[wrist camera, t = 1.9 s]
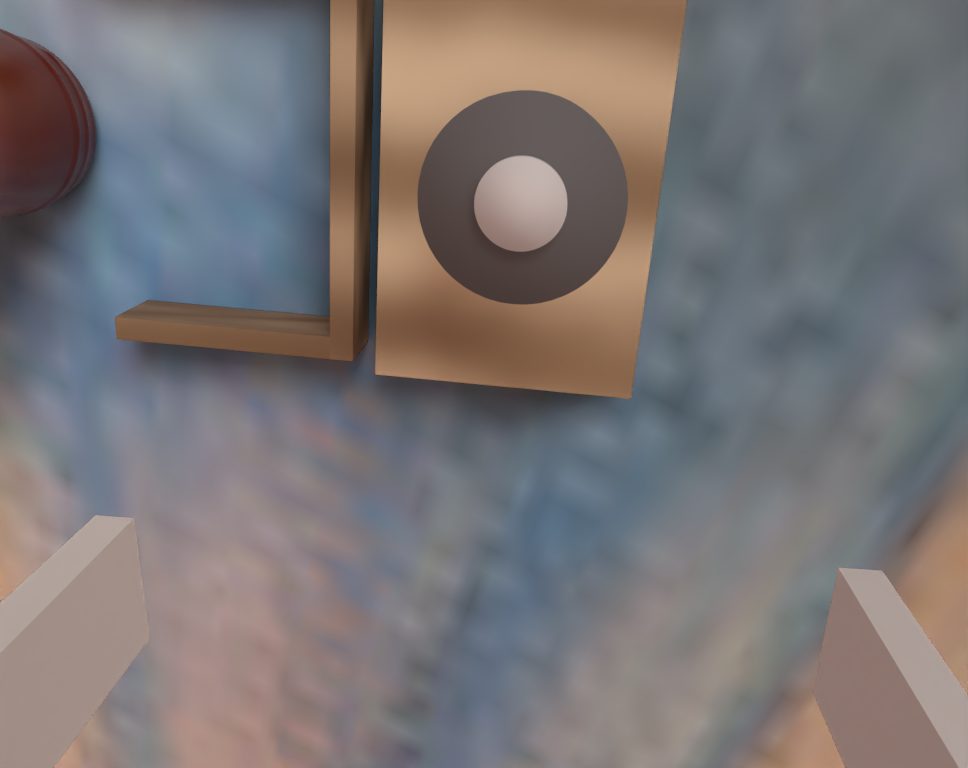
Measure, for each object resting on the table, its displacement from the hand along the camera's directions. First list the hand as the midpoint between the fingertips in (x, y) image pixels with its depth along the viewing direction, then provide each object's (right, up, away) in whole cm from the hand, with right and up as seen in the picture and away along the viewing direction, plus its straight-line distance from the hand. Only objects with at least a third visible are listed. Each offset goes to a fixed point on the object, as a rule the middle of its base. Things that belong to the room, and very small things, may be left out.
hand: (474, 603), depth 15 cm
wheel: (+1, +10, +10) cm, 14 cm away
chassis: (-4, +14, +19) cm, 24 cm away
